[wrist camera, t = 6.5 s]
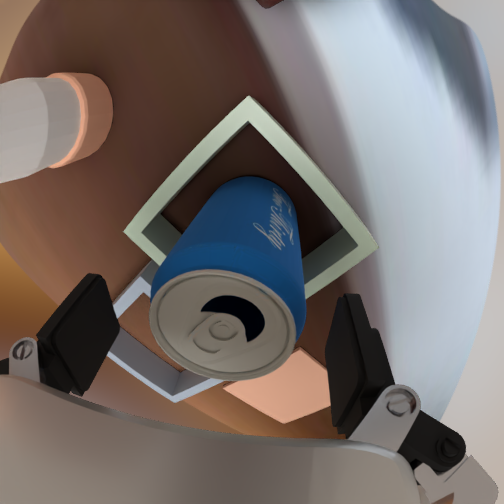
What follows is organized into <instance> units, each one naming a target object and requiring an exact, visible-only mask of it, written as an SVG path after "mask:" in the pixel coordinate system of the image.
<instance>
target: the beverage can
mask: <svg viewBox="0 0 504 504" xmlns="http://www.w3.org/2000/svg"><path fill="white" fill-rule="evenodd" d="M150 302H151V305H150V310H149V323H150V328H151V331H152V334H153V336H154V338H155V340H156V341H157V343H158V345H159V346H160V347H161V348H162V350H163V351H164V352H165V353H166V354H167V355H168V356H169V357H170V358H171V359H173V360H174V361H175V362H176V363H178V364H179V365H181V366H182V367H184V368H186V369H188V370H190V371H192V372H194V373H196V374H199V375H202V376H205V377H208V378H212V379H217V380H224V381H244V380H251V379H256V378H259V377H262V376H265V375H267V374H270V373H271V372H273V371H275V370H276V369H278V368H279V367H281V366H282V365H283V364H284V363H285V362H286V361H287V359H288V358H289V357H290V355H291V353H292V351H293V349H294V346H295V343H296V341H297V340H298V338H299V337H300V335H301V333H302V331H303V328H304V324H305V321H306V299H305V288H304V277H303V267H302V258H301V249H300V240H299V231H298V223H297V215H296V210H295V207H294V205H293V202H292V201H291V199H290V197H289V196H288V195H287V193H286V192H285V191H284V190H283V189H282V188H280V187H279V186H278V185H276V184H275V183H273V182H271V181H269V180H266V179H263V178H259V177H239V178H236V179H233V180H230V181H228V182H226V183H225V184H223V185H222V186H220V187H219V188H218V189H217V190H216V191H215V192H214V193H213V195H212V196H211V197H210V199H209V200H208V201H207V202H206V204H205V205H204V206H203V208H202V209H201V210H200V212H199V213H198V214H197V216H196V217H195V218H194V220H193V221H192V222H191V224H190V225H189V226H188V228H187V229H186V230H185V232H184V233H183V235H182V236H181V237H180V239H179V240H178V241H177V243H176V244H175V246H174V247H173V248H172V250H171V251H170V253H169V254H168V255H167V257H166V258H165V260H164V261H163V262H162V264H161V265H160V267H159V268H158V270H157V272H156V274H155V276H154V279H153V281H152V286H151V291H150Z"/></svg>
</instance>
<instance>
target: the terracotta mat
mask: <svg viewBox="0 0 504 504" xmlns="http://www.w3.org/2000/svg"><path fill="white" fill-rule="evenodd" d="M223 389H225V390H226V391H228V392H229V393H231V394H233V395H234V396H236V397H238V398H239V399H241V400H242V401H244V402H246V403H248V404H249V405H251V406H253V407H254V408H256V409H258V410H260V411H261V412H263V413H265V414H267V415H268V416H270V417H272V418H274V419H276V420H278V421H279V422H281V423H283V424H284V423H287V422H290V421H293V420H295V419H298V418H301V417H303V416H306V415H308V414H311V413H314V412H316V411H318V410H321V409H323V408H326V407H328V406H330V405H331V403H330V393H329V384H328V375H327V368H325V367H324V366H323V365H322V364H320V363H319V362H318V361H317V360H316V359H314V358H313V357H312V356H311V355H310V354H308V353H307V352H306V351H305V350H304V349H302V348H301V347H299V348H297V349H295V350H293V351H292V353H291V355H290V357H289V358H288V359H287V361H286V362H285V363H284V364H283V365H282V366H281V367H279V368H278V369H276V370H275V371H273V372H271V373H270V374H267V375H265V376H262V377H259V378H256V379H251V380H244V381H232V382H230V383H228V384H226V385H224V386H223Z"/></svg>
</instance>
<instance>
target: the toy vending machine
mask: <svg viewBox="0 0 504 504" xmlns="http://www.w3.org/2000/svg"><path fill="white" fill-rule="evenodd" d="M256 1H257V2H258V3H259V4H260V5H261V6H262V7H264V8H270V7H272V6H274V5H276V4H278V3H280V2H281V1H283V0H256Z"/></svg>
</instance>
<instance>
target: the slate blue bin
mask: <svg viewBox="0 0 504 504" xmlns="http://www.w3.org/2000/svg"><path fill="white" fill-rule="evenodd" d="M159 267H160V266H159V265H158V264H157V263H156V262H155V261H154V260H153V259H152V260H151V261H150V262H149V263H148V264H147V265H146V266H145V267H144V268H143V269H142V270H141V271H140V273H139V274H138V275H137V276H136V277H135V278H134V279H133V280H132V281H131V283H130V284H129V285H128V286H127V287H126V288H125V289H124V290H123V292H122V293H121V294H120V295H119V296H118V297H117V298H116V299H115V301H114V302H113V303H112V304H113V307H114V310H115V313H116V316H117V318H118V317H119V316H120V315H121V314H122V313H123V312H124V311H125V310H126V309H127V308H128V307H129V306H130V305H131V304H132V303H133V302H134V301H135V300H136V299H137V298H138V297H139V296H140V295H141V294H142V293H143V292H144V293H145V294H146V295H148V296H149V297H150V291H151V286H152V281H153V279H154V276H155V274H156V272H157V270H158V268H159ZM107 356H108V357H110V358H111V359H112V360H114V361H115V362H116V363H118V364H119V365H120V366H122V367H123V368H124V369H125V370H127V371H128V372H130V373H131V374H132V375H134V376H135V377H137V378H138V379H139V380H141V381H142V382H144V383H145V384H147V385H148V386H150V387H151V388H153V389H154V390H156V391H157V392H159V393H160V394H162V395H163V396H165V397H166V398H168V399H170V400H171V401H173V402H178V401H180V400H183V399H185V398H187V397H190V396H192V395H194V394H197V393H199V392H201V391H203V390H205V389H208V388H210V387H212V386H214V385H216V384H219V383H221V382H223V381H224V380H217V379H212V378H208V377H205V376H202V375H199V374H196V373H194V372H192V371H190V370H188V369H186V370H184V371H183V372H179V371H178V370H176V369H175V368H173V367H172V366H171V365H169V364H168V363H166V362H165V361H164V360H162V359H161V358H159V357H158V356H157V355H155V354H154V353H153V352H151V351H150V350H149V349H147V348H146V347H145V346H144V345H142V344H141V343H140V342H138V341H137V340H136V339H135V338H133V337H132V336H131V335H130V334H128V333H127V332H126V331H125V330H124V329H122V328H121V327H120V332H119V334H118V336H117V338H116V340H115V341H114V343H113V345H112V347H111V348H110V350H109V352H108V354H107Z"/></svg>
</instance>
